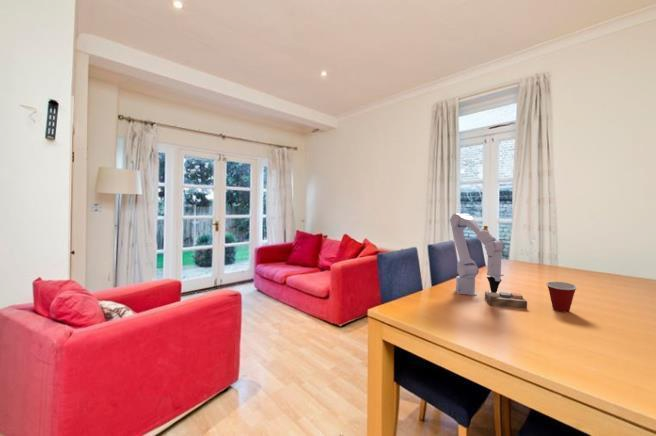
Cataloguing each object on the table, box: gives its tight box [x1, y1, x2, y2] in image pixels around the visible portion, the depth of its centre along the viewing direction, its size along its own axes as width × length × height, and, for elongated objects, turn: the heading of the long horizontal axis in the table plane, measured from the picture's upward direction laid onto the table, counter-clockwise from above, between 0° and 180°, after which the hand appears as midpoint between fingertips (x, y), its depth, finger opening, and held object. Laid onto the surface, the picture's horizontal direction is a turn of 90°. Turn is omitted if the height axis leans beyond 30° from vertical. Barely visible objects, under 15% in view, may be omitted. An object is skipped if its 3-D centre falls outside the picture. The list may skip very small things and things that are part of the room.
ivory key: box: [487, 290, 500, 297], centre depth 136 cm, size 4×4×3 cm
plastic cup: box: [546, 281, 578, 313], centre depth 125 cm, size 11×11×12 cm
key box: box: [484, 291, 528, 310], centre depth 134 cm, size 15×11×4 cm
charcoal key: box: [498, 291, 511, 298], centre depth 134 cm, size 4×4×3 cm
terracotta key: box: [509, 292, 524, 299], centre depth 133 cm, size 4×4×3 cm
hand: (493, 292), depth 136 cm, fingers closed, pressing on ivory key
